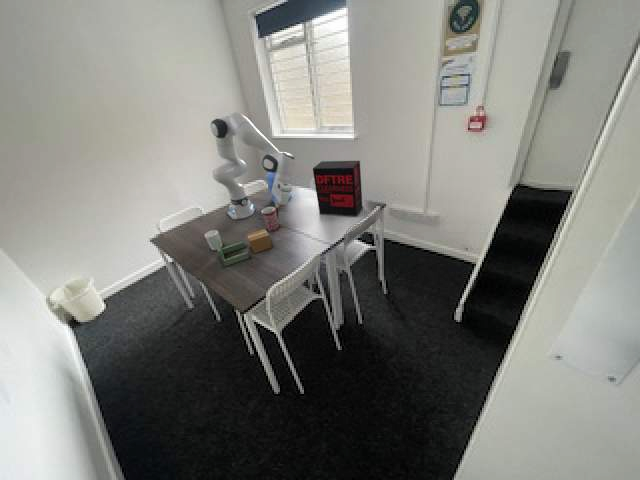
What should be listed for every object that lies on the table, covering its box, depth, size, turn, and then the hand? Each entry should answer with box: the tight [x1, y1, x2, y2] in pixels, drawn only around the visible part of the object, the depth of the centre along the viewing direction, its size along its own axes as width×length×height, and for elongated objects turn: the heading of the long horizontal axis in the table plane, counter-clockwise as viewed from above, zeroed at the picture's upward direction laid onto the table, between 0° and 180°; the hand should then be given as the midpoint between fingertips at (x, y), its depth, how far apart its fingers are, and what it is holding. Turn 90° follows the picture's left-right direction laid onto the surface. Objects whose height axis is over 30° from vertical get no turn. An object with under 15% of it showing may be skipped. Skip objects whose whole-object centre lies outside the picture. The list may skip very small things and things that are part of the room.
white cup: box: [204, 229, 223, 251], centre depth 158 cm, size 8×8×10 cm
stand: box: [216, 239, 250, 268], centre depth 147 cm, size 14×14×10 cm
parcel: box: [246, 228, 273, 254], centre depth 152 cm, size 11×9×9 cm
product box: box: [312, 160, 363, 217], centre depth 172 cm, size 26×14×32 cm, turn 67°
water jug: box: [265, 172, 292, 203], centre depth 205 cm, size 16×16×28 cm
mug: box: [261, 206, 280, 232], centre depth 170 cm, size 13×9×14 cm
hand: (276, 206), depth 149 cm, fingers closed
